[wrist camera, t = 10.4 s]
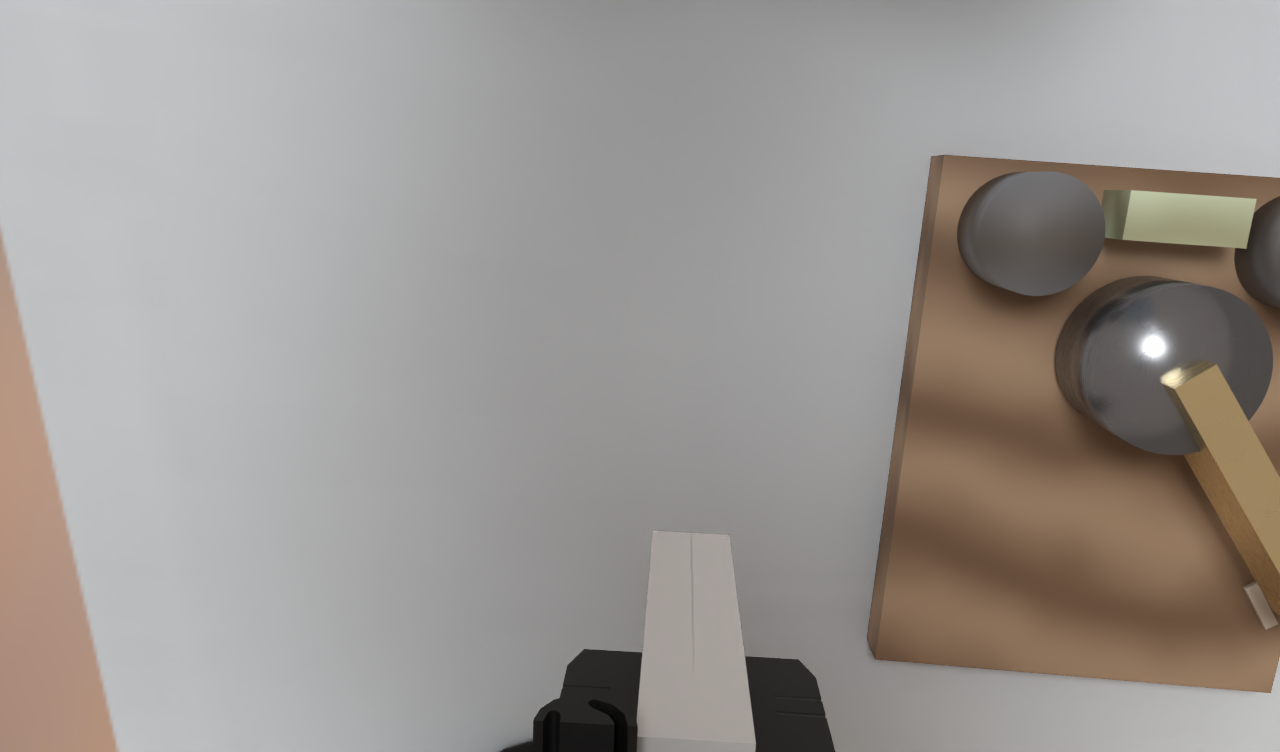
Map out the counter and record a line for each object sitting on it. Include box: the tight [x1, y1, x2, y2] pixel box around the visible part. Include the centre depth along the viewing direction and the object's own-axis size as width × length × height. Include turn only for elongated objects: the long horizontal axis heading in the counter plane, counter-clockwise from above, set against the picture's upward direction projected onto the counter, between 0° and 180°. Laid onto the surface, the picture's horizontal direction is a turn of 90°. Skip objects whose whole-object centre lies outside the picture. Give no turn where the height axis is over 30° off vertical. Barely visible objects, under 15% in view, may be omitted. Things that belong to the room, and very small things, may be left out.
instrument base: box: [867, 155, 1280, 693], centre depth 40 cm, size 24×19×5 cm
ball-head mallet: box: [1055, 276, 1280, 615], centre depth 38 cm, size 16×7×5 cm, turn 34°
